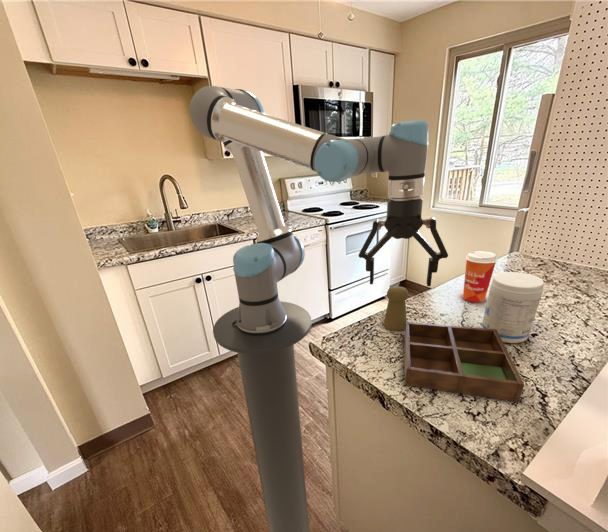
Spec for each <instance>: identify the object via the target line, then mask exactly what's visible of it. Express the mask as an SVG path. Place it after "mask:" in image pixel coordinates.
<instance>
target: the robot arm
mask: <svg viewBox="0 0 608 532" xmlns="http://www.w3.org/2000/svg"><path fill="white" fill-rule="evenodd" d="M189 116H190V119H191V122H192V124H193V126H194V128H195V130H196V131H198V133H200V134H201V135H202V136H203V137H206V138H210V139H211V140H214V141H218V142H221V143H222V144H223V147H224V150H225V151H226V152H227V153H230V154H231V155H232V157H233V161H234V164H235V167H236V169H237V172H238V175H239V179H240V181H241V184H242V187H243V191H244V194H245V196H246V200H247V203H248V205H249V209H250V211H251V214H252V218H253V220H254V223H255V227H256V230H257V233H258V235H257V237H256V240H255V242H256V243H251V244H249V245H248V244H247V245H245V246H243V247H241V248H239V249H238V250H236V251H235V253H234V254H233V257H232V263H233V264H232V265H233V266H232V267H233V268H232V269H233V272H234V278H235V284H236V289H237V290H236V291H237V295H238V296H237V297H238V301H239V304H238V307H239V309H238V314H237V320H236V321H234V322H233V323H232V325H234V324H236V323H237V327H238V329H239V330H240V331H241V332H243V333H245V334H249V335H266V334H270V333H273V332H276V331H278V330H280V329H281V328H283V327H284V326H285V324H286V322H287V318H286V313H285V311H284V308H283V306H282V304H281V302H280V301H281V300H280V298H279V291H278V290H279V289H278V283H279V282H281V281H282V280H284V279H285V278H287V277H288V276H289V275H291V274H293V273H295V272H296V271H297V270H298V269H299V268H300V267H301V266H302V264H303V263H304V261H305V256H306V251H305V247H304V244H303V242H302V241H301V239H299V238H298V237H297V236H296V235H294V233H293V229H292V228H291V227H289V226H287V224H285V223H286V222H285V221H284V217H283V214H282V211H281V207H280V204H279V201H278V197H277V194H276V191H275V187H274V184H273V180H272V177H271V174H270V171H269V168H268V165H267V164H268V163H267V160H266V158H265V155H264V154H266V155H269V156H271V157H275V158H277V159H280V160H283V161H286V162H287V163H291V164H294V165H296V166H299V167H302V168H304V169H307V170H310V171H313V172H315V173H316V174H317V175H318V176H319V178H321V179H322V180H324V181H326V182H330V183H341V182H344V181H346V180H349V179H350V178H353V177H358V176H360V175H365V174H373V173H386V172H387V173H388V181H387V182H388V183H387V198H389V199H388V200H387V201H386V202H387V203H386V204H387V205H386V219H385V220H379V219H377V218H376V219H374V220H373V222H372V228H371V230H370V232H369V234H368V236H367V238H366V239H365V242H364V243H363V244H362V247H361V249H360V250H359V253H358V257H359V258H360V259H364V260H365V271H366V272H369V285H374V281H375V257H374V256H375V255H376V254H377V253H378V252H379V251H380V250H381V249H382V247H384V246H385V244H387V242H389V241H390V240H391V239H392V238H394V239H395V240H399V239H400V240H401V239H406V240H409V239H411V238H414V239H415V241H416V242H418V244H419V245H420V246H421V247H422V248H423V249H424V251H426V253H427V254H428V255H429V257H428V262H427V263H428V264H427V273H426V287H431V286H432V277H433V274H436V273H437V272H438V271H439V269H438V268H439V263H440V262H439V261H440V260H441V259H447V258H449V253H448V251H447V248H446V247H445V245H444V242H443V240H442V238H441V236H440V234H439V231H438V229H437V220H436V218H435V217H434V216H431V217H430V218H425V219H423V218H422V214H423V201H424V199H423V197H422V196H423V195H424V190H425V177H426V166H427V159H428V150H429V149H428V148H429V122H428V121H427V120H425V119H414V120H408V121H401V122H397V123H393V124H392V125H391V126H390V131H389V134H386V135H381V136H372V137H371V136H370V137H363V138H343V137H340V136H336V135H334V134H330V133H326V132H323V131H320V130H318V129H314V128H310V127H308V126H304V125H301V124H298V123H295V122H292V121H288V120H285V119H282V118H279V117H277V116H276V117H275V116H272V115H269V114H266V113H265V111H264V107H263V105H262V103H261V100H259V98H258V97H257V96H256V95H255V94H253V93H251V92H250V91H247V90H244V89H242V88H228V87H222V86H218V85H207V86H203V87H201V88H200V89H198V90H197V91H196V92H195V93H194V94H193V96H192V98H191V101H190V105H189ZM422 226H425V227H426V229H429V230H430V233H431V235H432V237H433V240H434V242H435V243H436V246H437V248H438V250H439V252H438V251H436V250H435V249H434V247H433V246H432V245H431V244H430V243H429V242H428V241H427V240H426V239H425V237H424V236H423V235H422V234H421V232H420V231H419V230H420V229H421V228H422ZM383 227H384V229H386V233H384V235H383V236H382V237H381V238H380V239H379V240H378V241H377V242H376V244H375V245H373V247H372V248H371V249H370V250H369V251H368V249H369V248H370V245H371V243H372V242H373V240H374V238H375V236H376V234H377V232H378V231H380V230H382V228H383ZM367 251H368V252H367Z"/></svg>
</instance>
